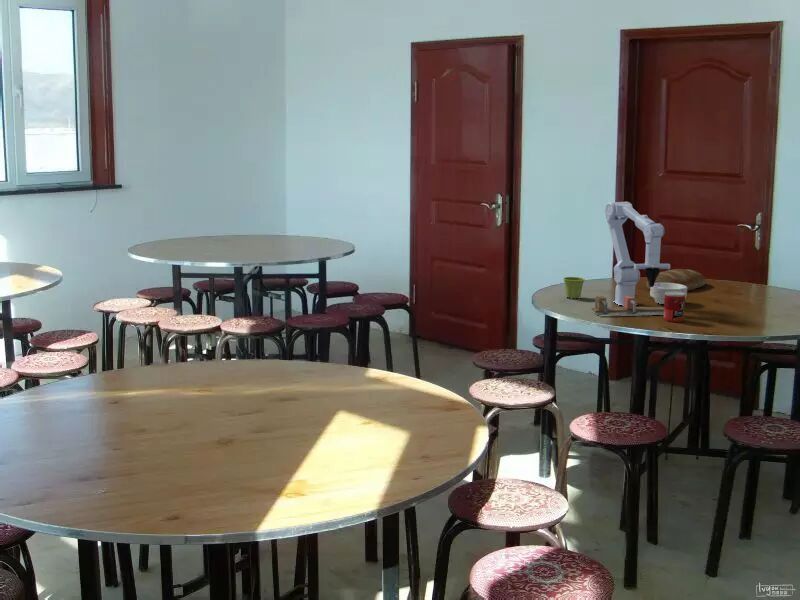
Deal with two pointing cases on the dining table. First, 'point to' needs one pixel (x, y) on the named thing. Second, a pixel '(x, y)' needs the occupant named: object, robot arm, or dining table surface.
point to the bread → (681, 278)
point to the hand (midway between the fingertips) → (651, 286)
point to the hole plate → (632, 313)
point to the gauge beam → (602, 307)
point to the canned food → (674, 306)
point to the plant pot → (573, 286)
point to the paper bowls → (665, 290)
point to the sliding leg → (629, 303)
